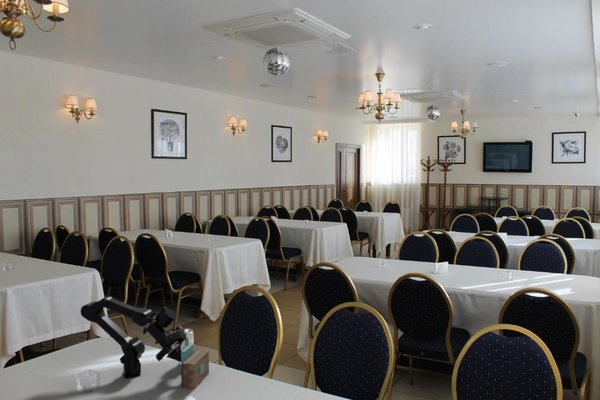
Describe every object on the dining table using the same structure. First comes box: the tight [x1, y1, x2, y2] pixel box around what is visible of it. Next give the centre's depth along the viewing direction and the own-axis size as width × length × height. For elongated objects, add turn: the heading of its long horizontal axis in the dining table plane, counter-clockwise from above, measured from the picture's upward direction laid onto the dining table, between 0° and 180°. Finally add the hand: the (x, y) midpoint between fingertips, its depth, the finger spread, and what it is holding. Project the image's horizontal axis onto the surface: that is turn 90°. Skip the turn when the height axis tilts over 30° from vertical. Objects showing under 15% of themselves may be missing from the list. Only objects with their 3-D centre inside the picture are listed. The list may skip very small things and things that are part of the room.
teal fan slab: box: [180, 343, 204, 384], centre depth 215 cm, size 7×9×13 cm
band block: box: [180, 349, 210, 389], centre depth 215 cm, size 6×16×10 cm, turn 169°
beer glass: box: [178, 328, 195, 366], centre depth 233 cm, size 7×7×15 cm
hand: (185, 362), depth 216 cm, fingers closed, pressing on teal fan slab
